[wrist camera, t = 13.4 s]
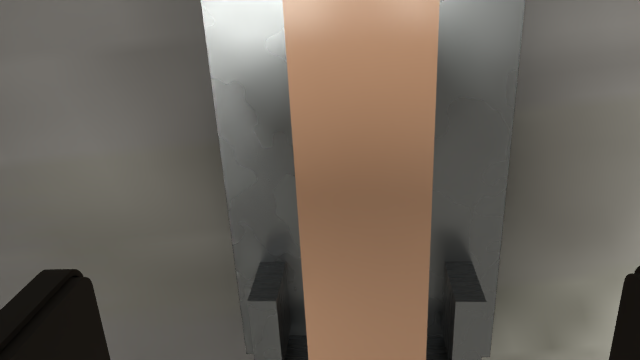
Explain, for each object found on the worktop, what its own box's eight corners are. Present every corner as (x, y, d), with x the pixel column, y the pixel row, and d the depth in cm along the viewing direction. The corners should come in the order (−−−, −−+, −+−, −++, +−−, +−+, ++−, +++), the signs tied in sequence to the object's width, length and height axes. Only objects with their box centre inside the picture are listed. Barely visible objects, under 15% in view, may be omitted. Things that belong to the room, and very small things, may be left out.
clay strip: (428, -93, 15) (443, -104, 12) (417, 308, 21) (425, 362, 18) (290, -85, 15) (275, -94, 13) (315, 308, 21) (308, 361, 18)
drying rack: (484, 340, 22) (505, 405, 19) (251, 338, 23) (233, 400, 20) (534, -202, 15) (583, -245, 12) (188, -176, 16) (143, -209, 12)
